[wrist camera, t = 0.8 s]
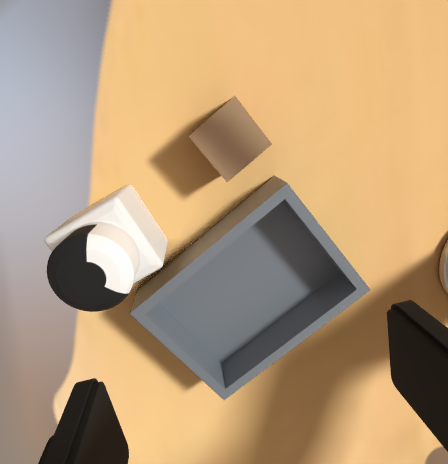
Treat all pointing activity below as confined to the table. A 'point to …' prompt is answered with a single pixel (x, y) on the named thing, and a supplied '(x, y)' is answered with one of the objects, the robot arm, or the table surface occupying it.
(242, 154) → the walnut cube
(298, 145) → the table surface
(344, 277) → the tote
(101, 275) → the medicine bottle
